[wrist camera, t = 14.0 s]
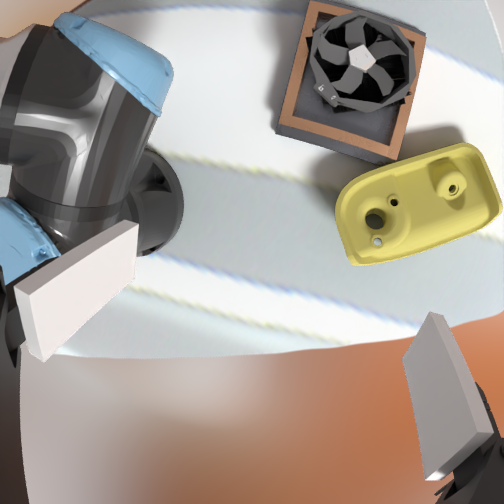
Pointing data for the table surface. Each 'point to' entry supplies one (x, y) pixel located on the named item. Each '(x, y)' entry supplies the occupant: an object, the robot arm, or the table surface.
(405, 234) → the plastic component
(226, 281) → the table surface
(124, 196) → the robot arm
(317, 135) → the board
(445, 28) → the table surface
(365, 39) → the cpu cooler
